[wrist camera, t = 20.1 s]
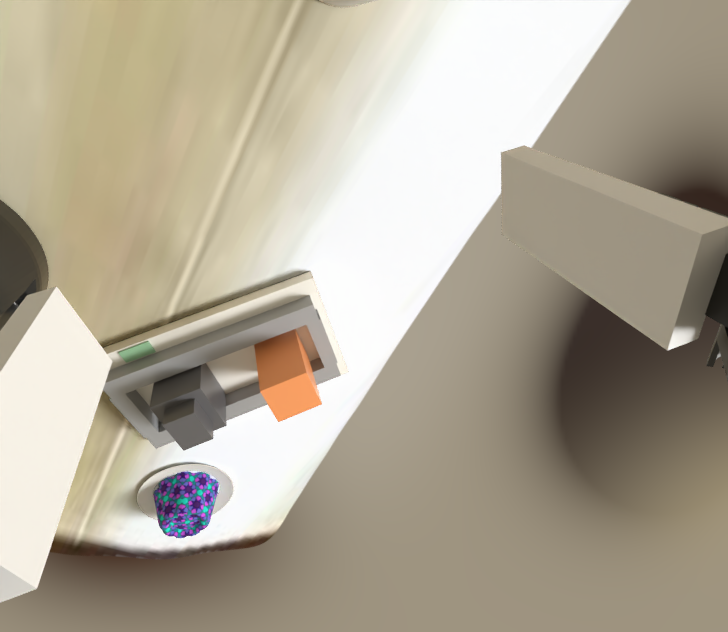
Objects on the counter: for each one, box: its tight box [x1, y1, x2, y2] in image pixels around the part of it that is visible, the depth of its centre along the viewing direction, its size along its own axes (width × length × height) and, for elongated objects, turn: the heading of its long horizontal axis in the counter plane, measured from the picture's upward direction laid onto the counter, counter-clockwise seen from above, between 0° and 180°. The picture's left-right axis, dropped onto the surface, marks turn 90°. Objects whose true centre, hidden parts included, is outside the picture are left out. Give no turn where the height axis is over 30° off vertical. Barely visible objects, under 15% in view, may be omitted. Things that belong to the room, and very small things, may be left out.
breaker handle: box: [149, 363, 226, 450], centre depth 43 cm, size 5×6×7 cm
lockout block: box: [254, 329, 322, 422], centre depth 44 cm, size 5×5×8 cm
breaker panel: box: [103, 271, 349, 448], centre depth 46 cm, size 24×14×4 cm, turn 104°
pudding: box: [137, 464, 234, 538], centre depth 55 cm, size 12×12×5 cm
